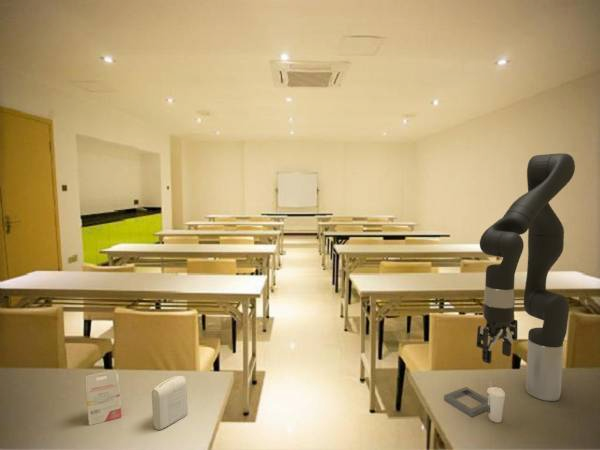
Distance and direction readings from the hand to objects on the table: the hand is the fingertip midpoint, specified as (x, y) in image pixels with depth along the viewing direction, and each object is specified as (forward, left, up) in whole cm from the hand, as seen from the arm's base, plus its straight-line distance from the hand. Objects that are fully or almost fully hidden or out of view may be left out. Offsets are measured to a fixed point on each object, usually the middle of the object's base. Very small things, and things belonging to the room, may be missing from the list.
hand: (496, 358), depth 106 cm
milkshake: (0, 0, -18) cm, 18 cm away
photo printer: (+82, -44, -18) cm, 95 cm away
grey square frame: (0, -9, -18) cm, 20 cm away
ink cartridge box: (+99, -55, -18) cm, 115 cm away
